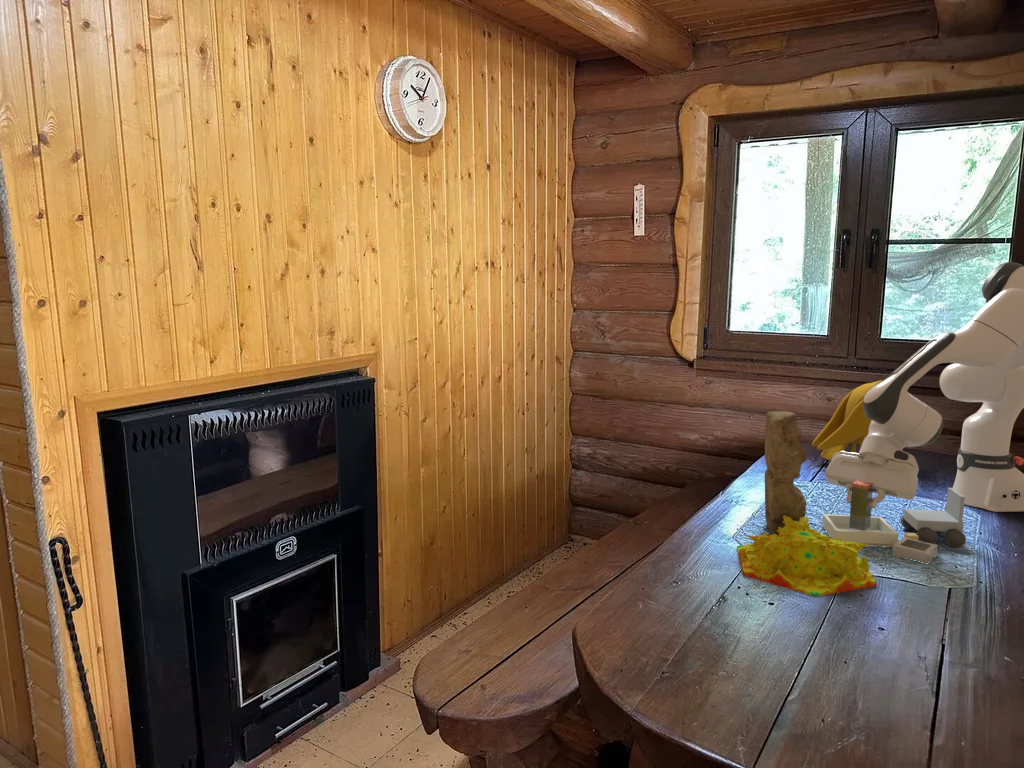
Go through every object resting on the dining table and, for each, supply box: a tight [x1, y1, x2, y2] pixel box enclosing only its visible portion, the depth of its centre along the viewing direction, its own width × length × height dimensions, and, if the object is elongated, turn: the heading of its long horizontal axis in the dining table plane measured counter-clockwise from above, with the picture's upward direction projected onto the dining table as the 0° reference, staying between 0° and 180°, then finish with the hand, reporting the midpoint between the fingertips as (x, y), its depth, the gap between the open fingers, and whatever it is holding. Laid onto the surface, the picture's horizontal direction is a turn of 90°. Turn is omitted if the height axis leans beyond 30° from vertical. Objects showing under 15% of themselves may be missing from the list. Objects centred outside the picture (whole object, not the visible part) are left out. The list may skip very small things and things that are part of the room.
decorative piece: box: [736, 515, 877, 597], centre depth 153 cm, size 26×8×30 cm
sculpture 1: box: [764, 410, 808, 536], centre depth 171 cm, size 12×9×30 cm
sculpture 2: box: [811, 379, 883, 461], centre depth 229 cm, size 20×27×30 cm
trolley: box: [900, 487, 967, 548], centre depth 167 cm, size 10×11×12 cm
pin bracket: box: [891, 536, 939, 564], centre depth 158 cm, size 7×7×2 cm
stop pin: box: [849, 480, 874, 531], centre depth 167 cm, size 4×4×11 cm
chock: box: [903, 532, 919, 540], centre depth 164 cm, size 2×2×2 cm
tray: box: [821, 513, 899, 548], centre depth 169 cm, size 14×12×3 cm
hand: (860, 504), depth 167 cm, fingers closed on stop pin, 3 cm apart
